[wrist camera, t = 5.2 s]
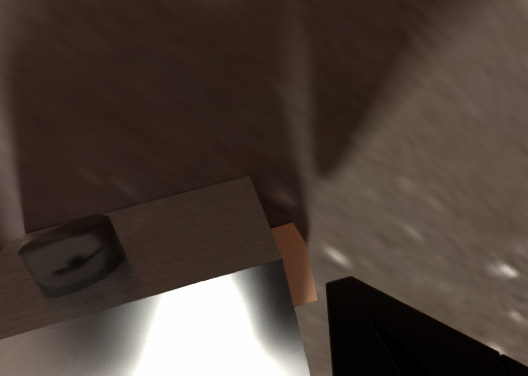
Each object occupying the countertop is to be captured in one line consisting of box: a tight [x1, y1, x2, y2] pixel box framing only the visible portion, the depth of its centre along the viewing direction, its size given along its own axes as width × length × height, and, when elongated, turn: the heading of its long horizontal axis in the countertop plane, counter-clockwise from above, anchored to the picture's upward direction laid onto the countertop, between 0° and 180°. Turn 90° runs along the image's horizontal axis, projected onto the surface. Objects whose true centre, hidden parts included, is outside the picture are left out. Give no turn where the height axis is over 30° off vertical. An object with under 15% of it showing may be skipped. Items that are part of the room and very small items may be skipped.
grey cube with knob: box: [0, 175, 310, 376], centre depth 7 cm, size 7×7×5 cm
